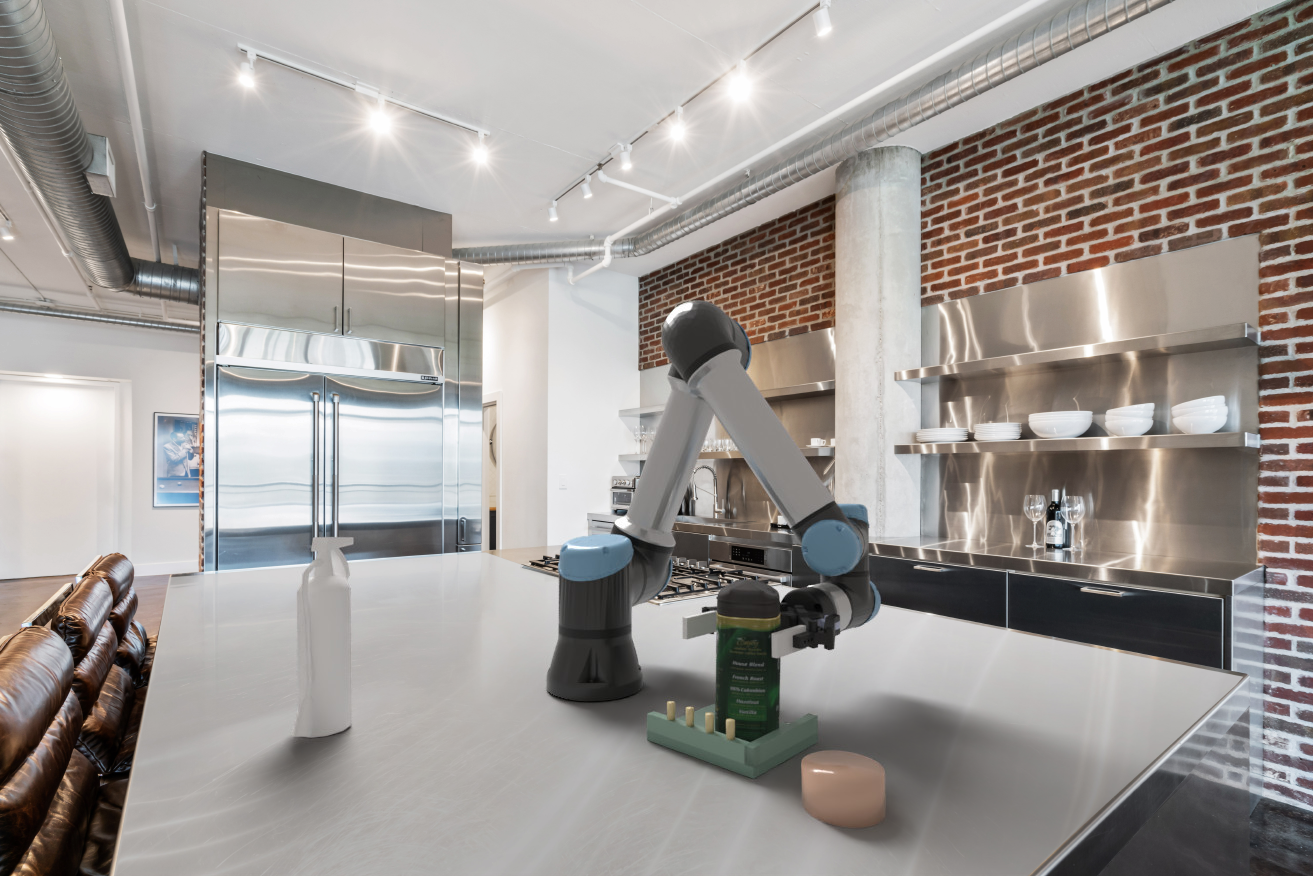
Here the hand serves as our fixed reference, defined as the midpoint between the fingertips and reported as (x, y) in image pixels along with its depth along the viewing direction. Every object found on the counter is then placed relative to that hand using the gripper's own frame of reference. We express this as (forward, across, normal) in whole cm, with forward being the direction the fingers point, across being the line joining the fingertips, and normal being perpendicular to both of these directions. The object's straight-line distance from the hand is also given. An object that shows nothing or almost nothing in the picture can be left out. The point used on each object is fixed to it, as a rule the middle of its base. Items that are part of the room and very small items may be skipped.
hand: (726, 636), depth 80 cm
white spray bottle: (+32, +42, -14) cm, 54 cm away
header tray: (-2, +1, -13) cm, 14 cm away
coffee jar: (-3, -1, -12) cm, 13 cm away
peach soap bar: (+4, -17, -14) cm, 22 cm away
